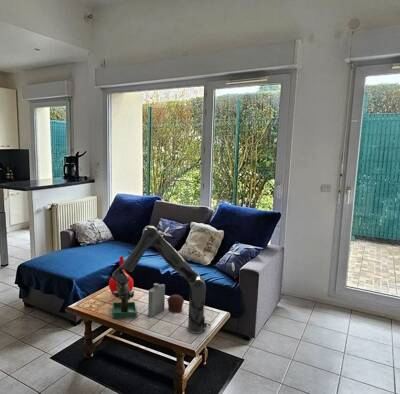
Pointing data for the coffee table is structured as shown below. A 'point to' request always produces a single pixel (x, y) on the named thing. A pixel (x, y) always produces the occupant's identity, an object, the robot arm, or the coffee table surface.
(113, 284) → the vase
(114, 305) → the tray
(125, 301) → the pepper mill
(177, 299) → the muffin
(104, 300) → the coffee table surface
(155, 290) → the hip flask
